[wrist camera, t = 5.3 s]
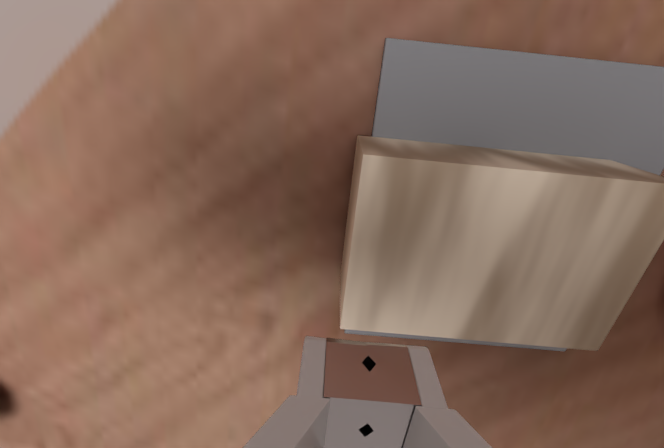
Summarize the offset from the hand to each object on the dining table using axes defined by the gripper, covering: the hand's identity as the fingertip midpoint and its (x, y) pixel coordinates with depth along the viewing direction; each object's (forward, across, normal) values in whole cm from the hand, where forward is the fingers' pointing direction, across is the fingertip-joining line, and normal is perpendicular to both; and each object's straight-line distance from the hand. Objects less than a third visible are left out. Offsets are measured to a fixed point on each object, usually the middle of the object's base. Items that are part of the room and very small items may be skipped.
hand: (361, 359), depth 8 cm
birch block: (+7, 0, 0) cm, 7 cm away
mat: (+10, -8, 0) cm, 12 cm away
